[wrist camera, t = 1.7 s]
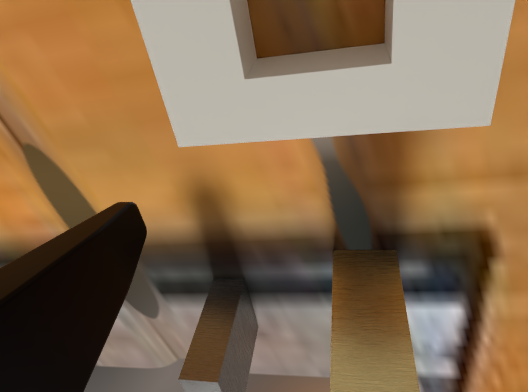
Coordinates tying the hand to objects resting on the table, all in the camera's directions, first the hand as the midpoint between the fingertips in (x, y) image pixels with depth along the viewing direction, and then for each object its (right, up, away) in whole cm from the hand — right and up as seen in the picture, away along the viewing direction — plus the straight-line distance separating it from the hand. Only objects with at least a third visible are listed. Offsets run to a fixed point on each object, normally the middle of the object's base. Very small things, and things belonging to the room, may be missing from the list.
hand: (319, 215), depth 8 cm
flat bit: (-3, -8, +22) cm, 24 cm away
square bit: (+6, -5, +17) cm, 19 cm away
